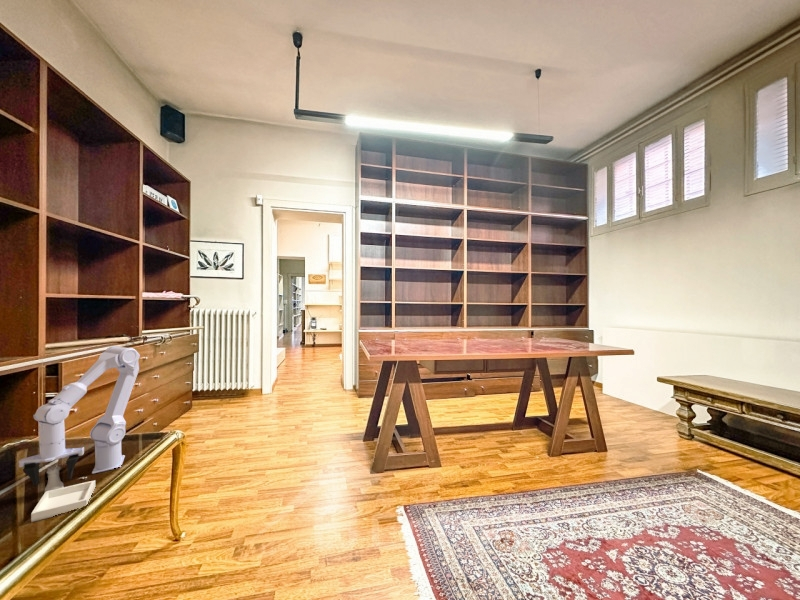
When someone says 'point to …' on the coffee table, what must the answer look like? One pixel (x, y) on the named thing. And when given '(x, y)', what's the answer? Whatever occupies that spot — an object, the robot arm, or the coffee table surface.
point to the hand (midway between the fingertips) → (53, 481)
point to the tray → (63, 500)
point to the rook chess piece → (53, 479)
